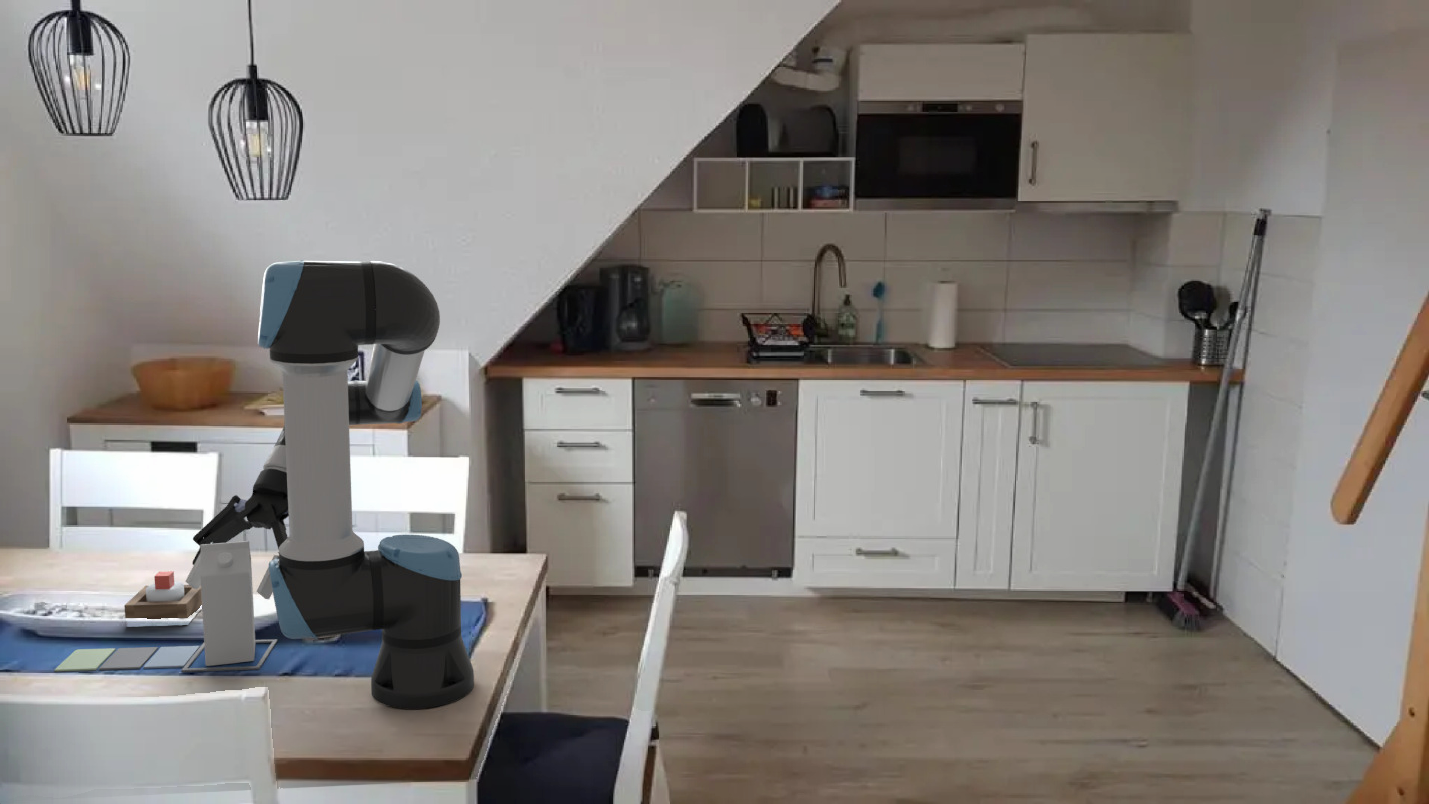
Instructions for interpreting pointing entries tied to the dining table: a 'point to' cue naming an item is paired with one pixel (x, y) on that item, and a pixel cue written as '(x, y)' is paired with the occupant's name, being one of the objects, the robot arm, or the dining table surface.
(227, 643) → the milk carton
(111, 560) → the dining table surface
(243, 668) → the track
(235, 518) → the robot arm
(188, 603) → the wooden square tray
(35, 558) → the dining table surface
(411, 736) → the dining table surface
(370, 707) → the dining table surface
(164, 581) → the red white stacked block
